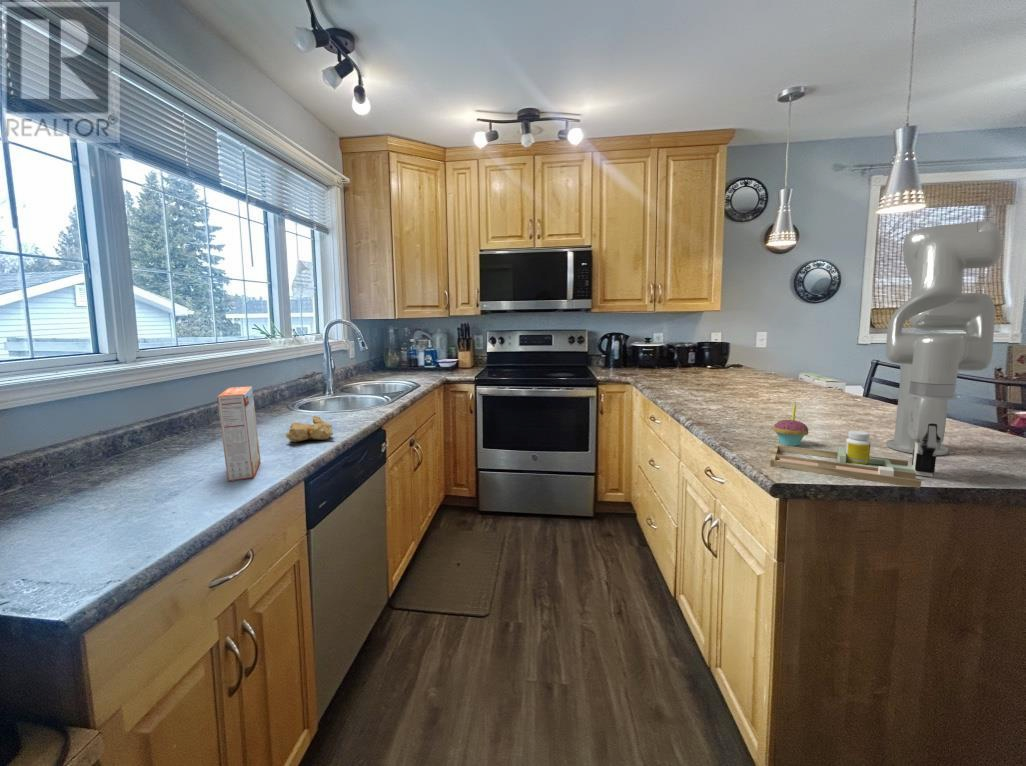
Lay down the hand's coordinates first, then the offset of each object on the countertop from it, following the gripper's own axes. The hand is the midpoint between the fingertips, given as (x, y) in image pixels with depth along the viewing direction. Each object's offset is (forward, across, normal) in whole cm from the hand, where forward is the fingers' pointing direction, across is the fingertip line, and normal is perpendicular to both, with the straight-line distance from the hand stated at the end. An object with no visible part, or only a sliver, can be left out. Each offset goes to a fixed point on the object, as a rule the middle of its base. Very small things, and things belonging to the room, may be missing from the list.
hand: (922, 468), depth 102 cm
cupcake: (+2, -14, -27) cm, 30 cm away
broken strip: (+1, +8, -17) cm, 19 cm away
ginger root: (+2, +56, -154) cm, 164 cm away
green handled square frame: (+1, 0, -7) cm, 7 cm away
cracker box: (+2, +83, -140) cm, 163 cm away
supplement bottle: (+2, 0, -12) cm, 12 cm away
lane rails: (+1, +3, -16) cm, 16 cm away
